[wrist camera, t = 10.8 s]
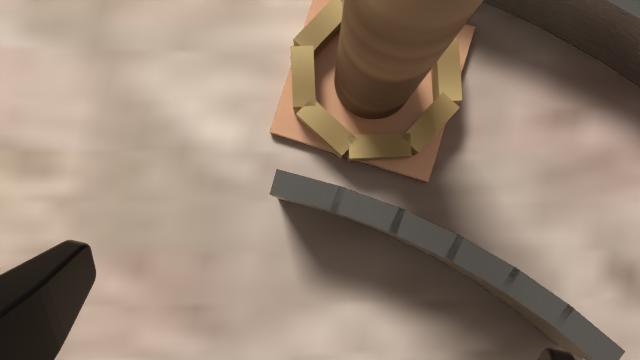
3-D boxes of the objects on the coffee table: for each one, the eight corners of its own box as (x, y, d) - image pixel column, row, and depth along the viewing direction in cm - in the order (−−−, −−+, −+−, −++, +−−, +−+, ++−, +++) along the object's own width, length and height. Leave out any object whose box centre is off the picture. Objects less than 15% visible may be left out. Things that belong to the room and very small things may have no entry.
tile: (426, 182, 23) (428, 181, 23) (270, 133, 23) (269, 131, 23) (472, 30, 24) (475, 26, 24) (319, -18, 24) (320, -22, 24)
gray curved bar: (675, 383, 23) (751, 418, 19) (237, 242, 23) (221, 248, 19) (757, 59, 24) (845, 28, 20) (340, -69, 24) (344, -126, 20)
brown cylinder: (458, 156, 23) (640, 77, 10) (295, 163, 23) (269, 91, 10) (448, 0, 24) (608, -267, 11) (289, 5, 24) (257, -256, 11)
